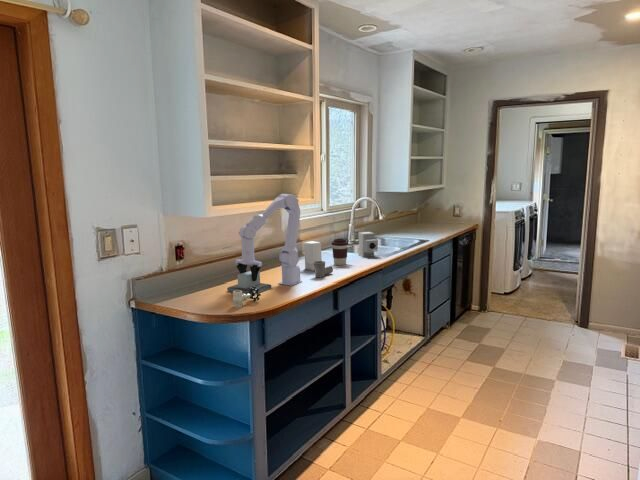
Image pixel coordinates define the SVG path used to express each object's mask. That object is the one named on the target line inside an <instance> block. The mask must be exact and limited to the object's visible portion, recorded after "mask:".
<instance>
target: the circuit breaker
mask: <svg viewBox="0 0 640 480" xmlns="http://www.w3.org/2000/svg"><path fill="white" fill-rule="evenodd" d="M357 239H358V251H357V252H358V254H357V255H358V256H360V257H362V258H369V257H370V258H371V257H375V253H376V252H378V251H379V250H378V247H379V245H378V244H379V243H378V242H379V241H378V239H376V238H375V233H374V232H372V231H365V232H363V231H361V232H358V238H357Z"/></svg>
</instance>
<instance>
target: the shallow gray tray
mask: <svg viewBox="0 0 640 480" xmlns="http://www.w3.org/2000/svg"><path fill="white" fill-rule="evenodd" d="M253 287H254V286H253ZM253 287H252V288H253ZM255 287H256V289H259V291H258V293H260V294H261V293H262V292H263V293H264V292H265V291H268V290H270V289H272V284H271V283H270V284H269V283H261V282H260V284H258V285H256V286H255ZM250 288H251V287H250ZM235 290H241V291H242V294H248V292H249V291H251V290H250V289H249V288H247V289H245V288H238V283H237V284H234V285H231V286H228V287H227V292H228V293H229V292H230V293H233V291H235ZM252 292H256V291H255V290H253V291H252ZM256 295H257V293H256Z"/></svg>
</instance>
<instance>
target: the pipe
mask: <svg viewBox="0 0 640 480" xmlns="http://www.w3.org/2000/svg"><path fill="white" fill-rule="evenodd" d="M313 265H314V268H315V271H314V274H315V277H316V278H322V277H325V276H326V275H329V274H331V273H333V272H334V267H333V266H332V265H329V266H326V261H325V260H322V261H315V262H313Z"/></svg>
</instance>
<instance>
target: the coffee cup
mask: <svg viewBox="0 0 640 480" xmlns="http://www.w3.org/2000/svg"><path fill="white" fill-rule="evenodd" d="M331 245H332V258H333V264H334V265H335V266H345V265H347V257H348V245H349V241H347V239H345V238H334V239H333V241H331Z"/></svg>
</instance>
